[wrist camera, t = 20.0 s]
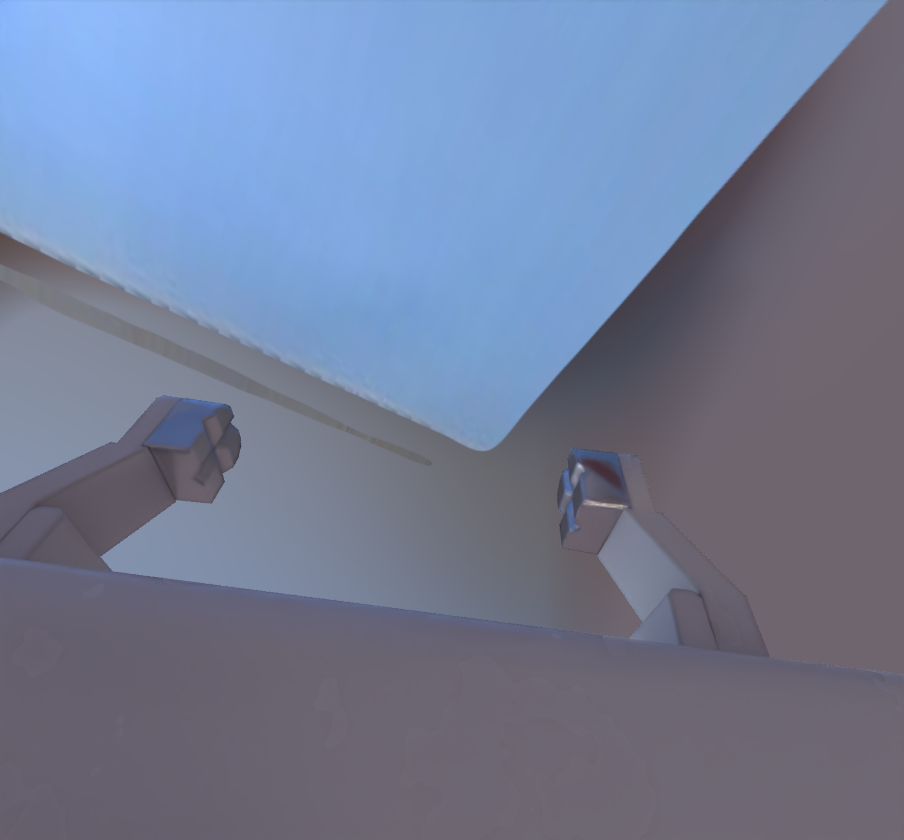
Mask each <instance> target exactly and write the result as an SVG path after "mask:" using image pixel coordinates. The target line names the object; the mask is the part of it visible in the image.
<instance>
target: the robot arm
mask: <svg viewBox="0 0 904 840" xmlns="http://www.w3.org/2000/svg"><path fill="white" fill-rule="evenodd" d="M233 418H234V415H233V412H232V409H231V407H230V406H228V405H226V404H222V403H215V402H208V401H202V400H195V399H189V398H179V397H172V396H166V395H163V396H161V397H158V398H157V399H156V400H155V401H154V402H153V403H152V404H151V405H150V406H149V408H148V409H147V410H146V411H145V412H144V413H143V414H142V415H141V417H140V418H139V419H138V420H137V421H136V422H135V423H134V425H133V426H132V427H131V428H130V429H129V430H128V431H127V432H126V434H125V435H124V436H123V437H122V438H121V439H120V440H119V442H118V443H114V442H110V443H108V444H105V445H103V446H101V447H99V448H97V449H95V450H93V451H91V452H88V453H86V454H84V455H82V456H80V457H77V458H75V459H73V460H71V461H69V462H67V463H65V464H62V465H60V466H58V467H56V468H54V469H52V470H49V471H47V472H45V473H43V474H41V475H39V476H36V477H34V478H32V479H30V480H28V481H26V482H24V483H21V484H19V485H17V486H15V487H13V488H11V489H8V490H6V491H4V492H3V493H0V840H904V675H903V674H896V673H888V672H881V671H873V670H865V669H857V668H850V667H842V666H834V665H827V664H819V663H811V662H803V661H795V660H788V659H780V658H773V657H770V656H769V653H768V651H767V649H766V646H765V643H764V640H763V638H762V635H761V633H760V630H759V628H758V625H757V623H756V620H755V617H754V615H753V612H752V610H751V607H750V605H749V602H748V600H747V597H746V595H744V594H743V592H742V591H740V590H739V589H738V588H737V587H736V586H735V585H734V584H733V583H732V582H731V581H730V580H729V579H728V578H727V577H726V576H725V575H724V574H723V573H722V572H721V571H720V570H719V569H718V568H717V567H716V566H715V565H714V564H713V563H712V562H711V561H710V560H709V559H708V558H707V557H706V556H705V555H704V554H703V553H702V552H701V551H700V550H699V549H698V548H697V547H696V546H695V545H694V544H693V543H692V542H691V541H690V540H689V539H688V538H687V537H686V536H685V535H684V534H683V533H682V532H681V531H680V530H679V529H678V528H677V527H676V526H675V525H674V524H673V523H672V522H671V521H670V520H669V519H668V518H667V517H666V516H665V515H664V514H663V513H660V512H656V511H655V507H654V504H653V501H652V497H651V494H650V490H649V487H648V484H647V480H646V476H645V473H644V470H643V466H642V463H641V459H640V458H639V457H638V456H637V455H628V454H620V453H611V452H603V451H594V450H586V449H577V448H573V449H572V450H571V451H570V454H569V456H568V459H567V460H568V468H567V469H566V470H564V471H563V472H562V475H561V478H560V481H559V486H558V498H557V500H558V509H559V511H560V512H561V513H562V514H563V518H562V520H561V523H560V533H561V543H562V549H567V550H573V551H579V552H586V553H593V554H598V557H599V559H600V560H601V562H602V563H603V565H604V566H605V568H606V569H607V571H608V572H609V574H610V575H611V577H612V578H613V579H614V581H615V583H616V584H617V585H618V587H619V588H620V590H621V591H622V593H623V594H624V596H625V597H626V599H627V600H628V602H629V603H630V605H631V606H632V607H633V609H634V610H635V612H636V613H637V615H638V616H639V618H640V619H641V621H642V622H643V623H642V624H641V625H640V626H639V628H638V629H637V630H636V631H635V632H634V633H633V635H632V636H631V637H630V638H629V639H626V638H619V637H612V636H604V635H597V634H589V633H581V632H574V631H566V630H558V629H550V628H543V627H535V626H527V625H519V624H512V623H505V622H497V621H488V620H481V619H474V618H466V617H459V616H450V615H443V614H436V613H428V612H420V611H412V610H404V609H397V608H390V607H382V606H374V605H366V604H359V603H351V602H343V601H336V600H328V599H320V598H312V597H305V596H297V595H289V594H282V593H274V592H266V591H258V590H251V589H243V588H235V587H228V586H220V585H213V584H205V583H196V582H190V581H182V580H174V579H167V578H159V577H151V576H143V575H136V574H128V573H121V572H113V571H111V569H110V568H109V567H108V565H107V564H106V563H105V562H104V561H103V559H102V558H101V557H100V556H102V555H103V554H105V553H106V552H107V551H109V550H110V549H111V548H113V547H114V546H116V545H117V544H118V543H120V542H121V541H123V540H124V539H125V538H127V537H128V536H129V535H131V534H132V533H133V532H135V531H136V530H138V529H139V528H140V527H142V526H143V525H145V524H146V523H147V522H149V521H150V520H151V519H153V518H154V517H156V516H157V515H158V514H160V513H161V512H162V511H164V510H165V509H167V508H168V507H169V506H171V505H172V504H173V503H175V502H176V501H175V500H182V501H191V502H201V503H212V502H213V501H214V499H215V497H216V495H217V494H218V492H219V490H220V488H221V487H222V485H223V484H224V482H225V481H224V478H223V473H224V472H226V471H228V470H229V469H231V468H233V467H234V465H235V463H236V461H237V459H238V457H239V453H240V449H241V437H240V434H239V431H238V429H237V428H235V427H234V426H233V425H232V424H231V423H230V422H231V421H232V419H233Z"/></svg>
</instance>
